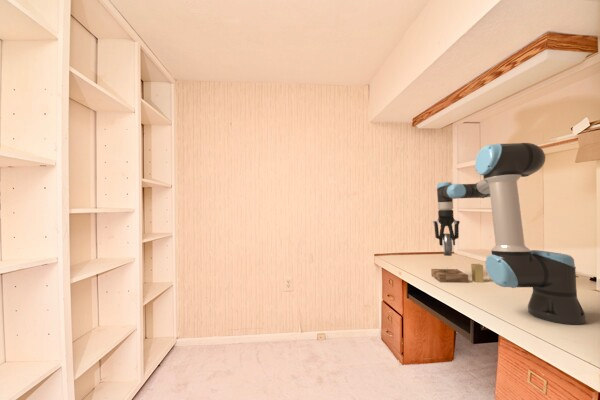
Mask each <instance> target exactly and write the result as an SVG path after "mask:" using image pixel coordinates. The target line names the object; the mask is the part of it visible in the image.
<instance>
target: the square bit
mask: <svg viewBox="0 0 600 400" xmlns="http://www.w3.org/2000/svg"><path fill="white" fill-rule="evenodd" d="M470 268H471V270H470V271H471V281H473V282H474V283H485V281H484V280H485V279H484V265H483V264H481V263H471V264H470Z"/></svg>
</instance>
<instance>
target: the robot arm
mask: <svg viewBox="0 0 600 400" xmlns="http://www.w3.org/2000/svg"><path fill="white" fill-rule="evenodd" d="M545 162H546V153H545V151H544V150H543V149H542V148H541V147H540V146H538V144H537V145H536V144H534V143H531V142H518V143H517V142H516V143H515V142H514V143H512V142H511V143H495V144H487V145H485V146H483V147H482V148H481V149H480V150H479V152H478V153H477V154H476V158H475V164H474V168H475V169H474V170H475V171H476V172H477V174H478V175H480V176H483V177H482V178H483V179H481V180H480V181H478V182H476V183H452V181H451V182H450V181H445V182H444V181H443V182H439V183H437V184H436V196H437V209H438V210H437V215H438V216H437V220H433V221H432V224H433V225H434V235H435V236H434V237H435V239H437V240H439V241H438V242H439V246H441V252H442V253H444V252H445V248H444V240H443V234H445V228H446V227H447V228H448V232H449V234H451V250H452V253H453V252H454V251H455V250H454V249H455V248H454V246H455V245H456V240H458V239H459V238H460V237H459V235H460V234H459V232H460V231H459V229H460V228H459V224H460V223H461V222H460V220H456V219H455V218H454V210H453V209H454V201H453V200H454V199H485V198H490V206H491V214H492V223H493V225H492V226H493V233H494V243H495V245H494V247H492V249H490V250H491V254H489V255H488V256H487V257H486V260H485V263H484V264H485V269H486V273H487V274H488V276H489V278H490V279H491V281H492V282H493V283H495V284H496V285H497V286H499V287H502V288H512V289H516V288H532V294H531V295H530V299H529V301H528V304H527V311H528V313H529V314H530V315H532V316H534V317H536V318H539V319H542V320H546V321H549V322H553V323H558V324H565V325H584V324H585V323H587V320H586V319H587V318H586V317H587V316H586V313H585V311H584V309H583V307H582V306H581V303H580V301H579V299H578V295H577V294H578V292H577V291H578V290H577V274H576V273H577V272H576V266H575V259H574V257H573V256H572V255H569V254H565V253H561V252H553V251H545V250H537V249H532V250H531V249H530V248H528V247H527V246H526V245H525V238H524V229H523V221H522V215H521V214H522V212H521V203H520V197H519V190H518V180H519V179H520V178H525V177H529V176H531V175H533V174H535V173H537V172H538V171H539V170H541V169H542V167H543V166H544V164H545ZM439 224H440V229H439ZM453 224H454V225H453ZM453 226H454V229H453Z"/></svg>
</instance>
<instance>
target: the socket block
mask: <svg viewBox="0 0 600 400" xmlns="http://www.w3.org/2000/svg"><path fill="white" fill-rule="evenodd" d="M430 272H431V277H433V279H435V280H436V281H438V282H439V283H469V275H468V274H466V273H465V272H463V271H461V270H459V269H457V268H456V269H455V268H431V271H430Z"/></svg>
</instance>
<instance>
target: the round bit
mask: <svg viewBox="0 0 600 400" xmlns="http://www.w3.org/2000/svg"><path fill="white" fill-rule="evenodd" d="M443 240H444V248H445V252H443V256H447V257H449V256H452V253H453V252H452V250H451V234H450V233H445V232H444V234H443Z"/></svg>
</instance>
